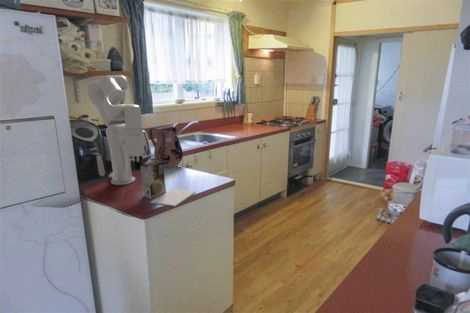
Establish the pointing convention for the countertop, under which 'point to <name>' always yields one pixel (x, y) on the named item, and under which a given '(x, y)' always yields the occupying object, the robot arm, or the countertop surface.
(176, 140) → the ceramic pitcher
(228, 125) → the countertop surface
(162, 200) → the mat
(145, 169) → the coffee box
